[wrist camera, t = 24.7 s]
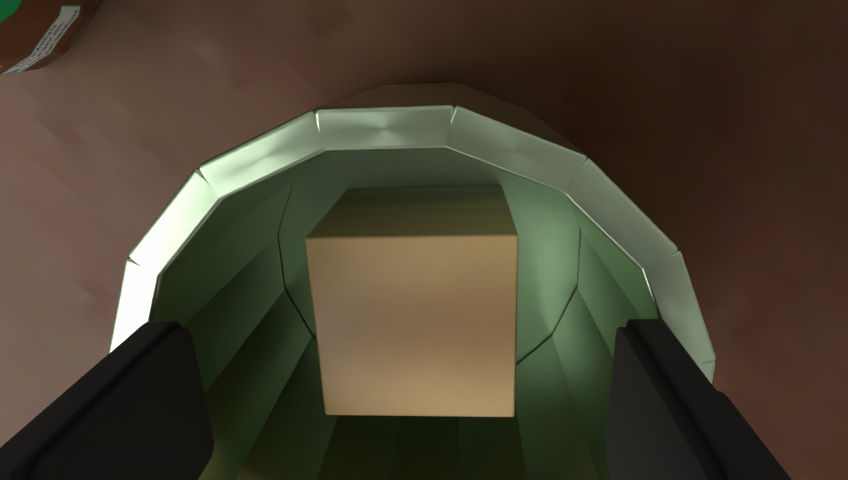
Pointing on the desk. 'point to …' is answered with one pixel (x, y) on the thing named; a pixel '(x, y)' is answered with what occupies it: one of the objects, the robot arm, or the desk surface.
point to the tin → (292, 303)
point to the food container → (39, 31)
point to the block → (416, 302)
